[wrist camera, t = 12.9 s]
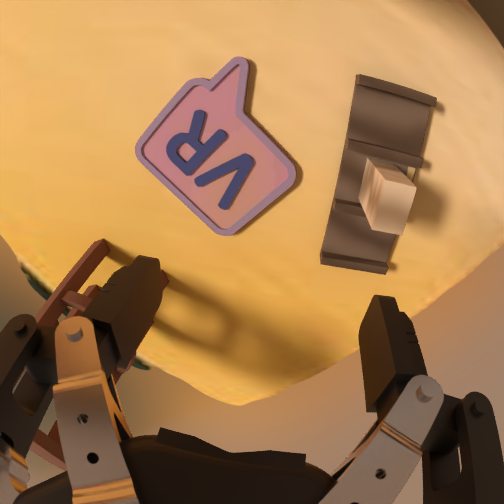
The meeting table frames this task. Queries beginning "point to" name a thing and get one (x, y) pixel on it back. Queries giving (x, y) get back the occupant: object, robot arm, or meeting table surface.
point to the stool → (54, 307)
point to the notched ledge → (354, 162)
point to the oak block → (386, 196)
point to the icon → (216, 151)
